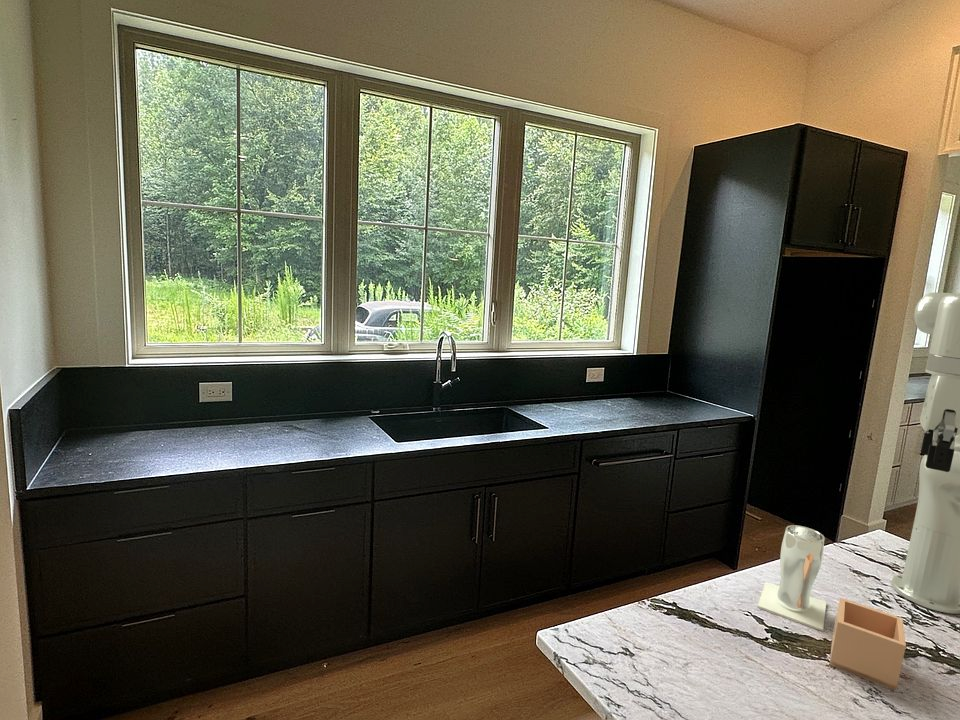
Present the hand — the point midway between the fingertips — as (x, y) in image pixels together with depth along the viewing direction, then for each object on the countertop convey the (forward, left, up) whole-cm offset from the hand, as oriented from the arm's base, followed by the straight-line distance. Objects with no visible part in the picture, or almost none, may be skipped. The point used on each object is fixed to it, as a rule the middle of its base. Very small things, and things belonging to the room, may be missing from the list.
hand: (934, 462), depth 97 cm
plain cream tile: (+4, -17, -33) cm, 38 cm away
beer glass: (+4, -17, -33) cm, 37 cm away
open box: (+15, -5, -33) cm, 37 cm away
